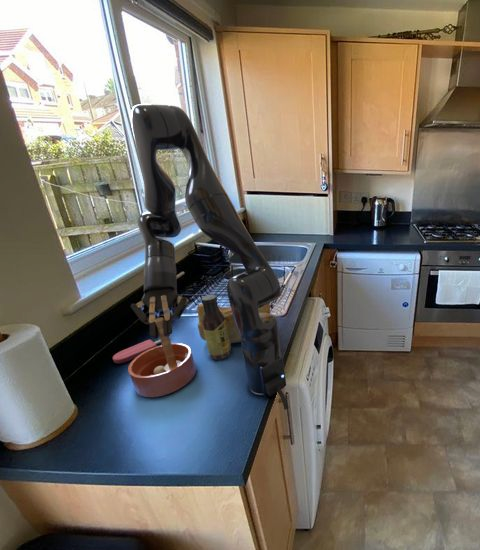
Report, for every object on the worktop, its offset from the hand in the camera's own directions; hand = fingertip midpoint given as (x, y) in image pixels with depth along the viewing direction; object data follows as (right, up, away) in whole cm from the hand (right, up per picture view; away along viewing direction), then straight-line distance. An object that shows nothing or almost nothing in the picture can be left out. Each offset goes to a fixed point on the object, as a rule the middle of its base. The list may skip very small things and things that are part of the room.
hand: (161, 336), depth 79 cm
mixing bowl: (-2, -13, +6) cm, 15 cm away
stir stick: (-1, -10, +6) cm, 12 cm away
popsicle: (-18, -8, +18) cm, 27 cm away
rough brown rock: (+10, -4, +27) cm, 29 cm away
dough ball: (-4, -11, +6) cm, 13 cm away
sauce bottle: (+8, -9, +16) cm, 20 cm away
